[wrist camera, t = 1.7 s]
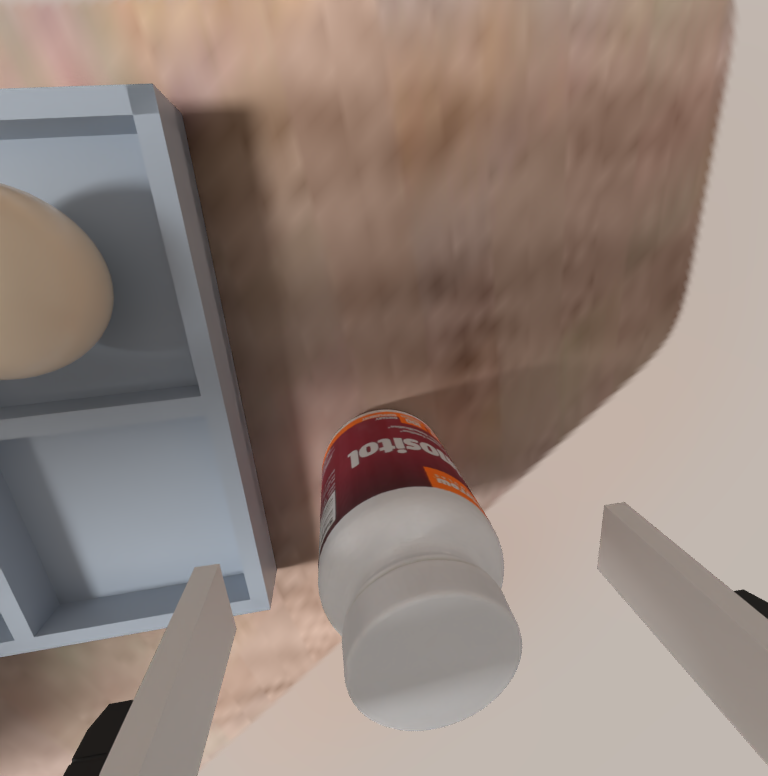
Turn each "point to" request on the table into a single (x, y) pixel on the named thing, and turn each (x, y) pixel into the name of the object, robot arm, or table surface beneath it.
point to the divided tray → (124, 391)
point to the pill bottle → (411, 577)
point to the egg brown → (47, 288)
